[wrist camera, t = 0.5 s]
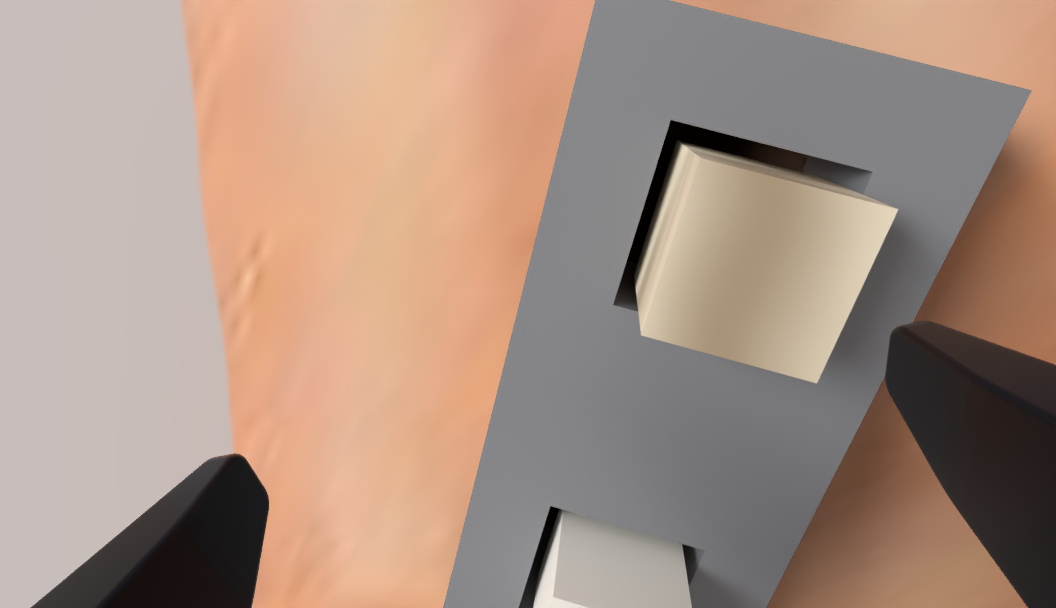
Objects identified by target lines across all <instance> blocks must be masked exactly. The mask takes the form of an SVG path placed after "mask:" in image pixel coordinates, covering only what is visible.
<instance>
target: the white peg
mask: <svg viewBox="0 0 1056 608" xmlns="http://www.w3.org/2000/svg"><path fill="white" fill-rule="evenodd" d="M533 608H692V605H691V598H690V592H689V585H688V579H687V572H686V566H685V559H684V553H683V546H682V544H681V543H677V542H674V541H670V540H667V539H663V538H660V537H656V536H653V535H649V534H646V533H642V532H639V531H635V530H632V529H629V528H625V527H622V526H618V525H615V524H611V523H608V522H604V521H601V520H597V519H594V518H590V517H587V516H583V515H580V514H576V513H573V512H570V511H566V510H563V509H559V511H558V514H557V517H556V520H555V523H554V526H553V530H552V533H551V536H550V539H549V542H548V545H547V548H546V551H545V555H544V558H543V561H542V564H541V567H540V570H539V573H538V579H537V586H536V592H535V599H534V605H533Z"/></svg>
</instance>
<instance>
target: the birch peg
mask: <svg viewBox="0 0 1056 608" xmlns="http://www.w3.org/2000/svg"><path fill="white" fill-rule="evenodd" d="M897 212H898V209H896V208H894V207H892V206H889V205H887V204H884V203H882V202H879V201H877V200H875V199H872V198H870V197H867V196H865V195H863V194H860V193H858V192H855V191H853V190H850V189H848V188H846V187H843V186H841V185H838V184H836V183H833V182H831V181H829V180H826V179H824V178H821V177H818V176H814V175H811V174H807V173H803V172H799V171H795V170H791V169H787V168H783V167H780V166H776V165H772V164H768V163H764V162H760V161H756V160H752V159H749V158H745V157H741V156H737V155H733V154H729V153H725V152H722V151H718V150H714V149H710V148H706V147H702V146H698V145H694V144H691V143H687V142H683V141H679V140H677V141H676V144H675V147H674V150H673V154H672V157H671V160H670V163H669V166H668V169H667V172H666V175H665V179H664V182H663V185H662V188H661V191H660V194H659V197H658V201H657V204H656V207H655V210H654V213H653V216H652V219H651V222H650V226H649V229H648V232H647V235H646V238H645V241H644V244H643V248H642V251H641V254H640V257H639V260H638V263H637V266H636V269H635V273H634V279H635V287H636V296H637V305H638V313H639V322H640V331H641V335H642V336H645V337H649V338H653V339H656V340H660V341H664V342H667V343H671V344H675V345H678V346H682V347H686V348H689V349H693V350H697V351H700V352H704V353H707V354H711V355H715V356H718V357H722V358H726V359H729V360H733V361H737V362H740V363H744V364H748V365H751V366H755V367H759V368H762V369H766V370H770V371H773V372H777V373H781V374H784V375H788V376H792V377H795V378H799V379H803V380H806V381H810V382H813V383H817V382H818V380H819V378H820V376H821V374H822V371H823V369H824V367H825V365H826V363H827V361H828V359H829V357H830V354H831V352H832V350H833V348H834V346H835V344H836V342H837V340H838V337H839V335H840V333H841V331H842V329H843V327H844V325H845V322H846V320H847V318H848V316H849V314H850V312H851V310H852V308H853V305H854V303H855V301H856V299H857V297H858V295H859V293H860V290H861V288H862V286H863V284H864V282H865V280H866V278H867V276H868V273H869V271H870V269H871V267H872V265H873V263H874V261H875V258H876V256H877V254H878V252H879V250H880V248H881V246H882V244H883V241H884V239H885V237H886V235H887V233H888V231H889V229H890V227H891V224H892V222H893V220H894V218H895V216H896V214H897Z"/></svg>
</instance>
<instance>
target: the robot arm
mask: <svg viewBox="0 0 1056 608" xmlns="http://www.w3.org/2000/svg"><path fill="white" fill-rule="evenodd" d="M885 380H886V385H887V389H888V391H889V393H890V395H891V397H892V399H893V401H894V403H895V404H896V406H897V408H898V410H899V411H900V413H901V415H902V417H903V418H904V420H905V422H906V424H907V426H908V427H909V429H910V431H911V433H912V434H913V436H914V438H915V440H916V441H917V443H918V445H919V447H920V448H921V450H922V452H923V454H924V456H925V457H926V459H927V461H928V463H929V464H930V466H931V468H932V470H933V471H934V473H935V475H936V477H937V478H938V480H939V482H940V483H941V485H942V487H943V488H944V490H945V492H946V493H947V495H948V496H949V498H950V499H951V501H952V502H953V504H954V505H955V507H956V508H957V509H958V511H959V512H960V514H961V515H962V516H963V518H964V519H965V521H966V522H967V523H968V525H969V526H970V528H971V529H972V530H973V532H974V533H975V535H976V536H977V537H978V539H979V540H980V541H981V543H982V544H983V546H984V547H985V548H986V550H987V551H988V553H989V554H990V555H991V557H992V558H993V560H994V561H995V562H996V564H997V565H998V567H999V568H1000V569H1001V571H1002V572H1003V573H1004V575H1005V576H1006V578H1007V579H1008V580H1009V582H1010V583H1011V585H1012V586H1013V587H1014V589H1015V590H1016V592H1017V593H1018V594H1019V596H1020V597H1021V598H1022V600H1023V601H1024V603H1025V604H1026V605H1027V607H1028V608H1056V365H1055V364H1052V363H1049V362H1046V361H1043V360H1040V359H1037V358H1034V357H1032V356H1029V355H1026V354H1023V353H1020V352H1017V351H1014V350H1011V349H1009V348H1006V347H1003V346H1000V345H997V344H994V343H991V342H988V341H986V340H983V339H980V338H977V337H974V336H971V335H968V334H965V333H963V332H960V331H957V330H954V329H951V328H948V327H945V326H942V325H940V324H937V323H934V322H930V321H920V322H915V323H910V324H905V325H900V326H897V327H895V328H894V329H893V330H892V332H891V334H890V338H889V346H888V355H887V363H886V372H885ZM268 511H269V498H268V494H267V491H266V489H265V488H264V486H263V485H262V483H261V482H260V480H259V478H258V477H257V475H256V474H255V472H254V471H253V469H252V468H251V466H250V464H249V463H248V461H247V460H246V459H245V457H243V456H242V455H240V454H229V455H224V456H218V457H214V458H211V459H209V460H207V461H206V462H205V463H203V464H202V465H201V466H200V467H199V468H197V469H196V470H195V471H194V472H193V473H191V474H190V475H189V476H188V477H187V478H185V479H184V480H183V481H182V482H181V483H179V484H178V485H177V486H176V487H175V488H173V489H172V490H171V491H170V492H169V493H167V494H166V495H165V496H164V497H163V498H162V499H160V500H159V501H158V502H157V503H156V504H155V505H153V506H152V507H151V508H150V509H148V510H147V511H146V512H145V513H143V514H142V515H141V516H140V517H139V518H138V519H136V520H135V521H134V522H133V523H132V524H130V525H129V526H128V527H127V528H126V529H124V530H123V531H122V532H121V533H120V534H118V535H117V536H116V537H115V538H114V539H112V540H111V541H110V542H109V543H108V544H106V545H105V546H104V547H103V548H102V549H100V550H99V551H98V552H97V553H96V554H94V555H93V556H92V557H91V558H90V559H89V560H87V561H86V562H85V563H84V564H82V565H81V566H80V567H79V568H78V569H76V570H75V571H74V572H73V573H72V574H70V576H68V577H67V578H66V579H65V580H63V581H62V582H61V583H60V584H59V585H57V586H56V587H55V588H54V589H53V590H51V591H50V592H49V593H48V594H47V595H46V596H44V597H43V598H42V599H41V600H39V601H38V602H37V603H36V604H35V605H34V606H32V607H31V608H252V603H253V598H254V593H255V587H256V581H257V575H258V570H259V564H260V558H261V552H262V546H263V540H264V534H265V528H266V523H267V517H268Z"/></svg>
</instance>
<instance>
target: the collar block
mask: <svg viewBox="0 0 1056 608" xmlns="http://www.w3.org/2000/svg"><path fill="white" fill-rule="evenodd" d="M1031 91H1032V90H1028V89H1024V88H1020V87H1016V86H1012V85H1008V84H1004V83H1000V82H996V81H992V80H988V79H984V78H980V77H975V76H971V75H967V74H963V73H959V72H955V71H951V70H947V69H943V68H939V67H935V66H931V65H927V64H923V63H919V62H915V61H911V60H907V59H903V58H899V57H895V56H891V55H887V54H883V53H879V52H875V51H871V50H867V49H863V48H859V47H855V46H851V45H847V44H843V43H839V42H835V41H831V40H827V39H823V38H818V37H814V36H810V35H806V34H802V33H798V32H794V31H790V30H786V29H782V28H778V27H774V26H770V25H766V24H762V23H758V22H754V21H750V20H746V19H742V18H738V17H734V16H730V15H726V14H722V13H718V12H714V11H710V10H706V9H702V8H698V7H694V6H690V5H686V4H682V3H678V2H674V1H670V0H595V4H594V8H593V12H592V16H591V20H590V24H589V28H588V32H587V36H586V40H585V44H584V48H583V52H582V56H581V60H580V64H579V68H578V72H577V76H576V80H575V84H574V88H573V92H572V96H571V100H570V104H569V108H568V112H567V116H566V120H565V124H564V128H563V132H562V136H561V140H560V144H559V148H558V152H557V156H556V160H555V164H554V168H553V172H552V176H551V180H550V184H549V188H548V192H547V196H546V200H545V204H544V208H543V212H542V216H541V220H540V224H539V228H538V232H537V236H536V240H535V244H534V248H533V252H532V256H531V260H530V264H529V268H528V272H527V276H526V280H525V284H524V288H523V292H522V296H521V300H520V304H519V308H518V312H517V316H516V320H515V324H514V328H513V332H512V336H511V339H510V343H509V347H508V351H507V355H506V359H505V363H504V367H503V371H502V375H501V379H500V383H499V387H498V391H497V395H496V399H495V403H494V407H493V411H492V415H491V419H490V423H489V427H488V431H487V435H486V439H485V443H484V447H483V451H482V455H481V459H480V463H479V467H478V471H477V475H476V479H475V483H474V487H473V491H472V495H471V499H470V503H469V507H468V511H467V515H466V519H465V523H464V527H463V531H462V535H461V539H460V543H459V547H458V551H457V555H456V559H455V563H454V567H453V571H452V575H451V579H450V583H449V587H448V591H447V595H446V599H445V603H444V607H443V608H533V605H534V599H535V592H536V586H537V579H538V573H539V570H540V567H541V564H542V561H543V558H544V555H545V551H546V548H547V545H548V542H549V539H550V536H551V533H552V530H553V528H550V527H546V526H544V525H545V522H546V518H547V515H548V512H549V509H550V506H552V507H556V508H559V509H563V510H566V511H570V512H573V513H576V514H580V515H583V516H587V517H590V518H594V519H597V520H601V521H604V522H608V523H611V524H615V525H618V526H622V527H625V528H629V529H632V530H635V531H639V532H642V533H646V534H649V535H653V536H656V537H660V538H663V539H667V540H670V541H674V542H677V543H681V544H682V546H683V553H684V559H685V566H686V572H687V579H688V585H689V592H690V598H691V605H692V608H766V607H767V605H768V603H769V601H770V599H771V597H772V595H773V594H774V592H775V590H776V588H777V586H778V584H779V582H780V580H781V578H782V576H783V574H784V572H785V570H786V568H787V566H788V564H789V562H790V560H791V558H792V557H793V555H794V553H795V551H796V549H797V547H798V545H799V543H800V541H801V539H802V537H803V535H804V533H805V531H806V529H807V527H808V525H809V523H810V521H811V520H812V518H813V516H814V514H815V512H816V510H817V508H818V506H819V504H820V502H821V500H822V498H823V496H824V494H825V492H826V490H827V488H828V486H829V484H830V483H831V481H832V479H833V477H834V475H835V473H836V471H837V469H838V467H839V465H840V463H841V461H842V459H843V457H844V455H845V453H846V451H847V449H848V447H849V445H850V444H851V442H852V440H853V438H854V436H855V434H856V432H857V430H858V428H859V426H860V424H861V422H862V420H863V418H864V416H865V414H866V412H867V410H868V408H869V407H870V405H871V403H872V401H873V399H874V397H875V395H876V393H877V391H878V389H879V387H880V385H881V383H882V381H883V379H884V377H885V372H886V363H887V355H888V346H889V338H890V334H891V332H892V330H893V329H894V328H895V327H897V326H900V325H905V324H910V323H913V321H914V319H915V317H916V315H917V313H918V311H919V309H920V307H921V305H922V303H923V301H924V299H925V297H926V296H927V294H928V292H929V290H930V288H931V286H932V284H933V282H934V280H935V278H936V276H937V274H938V272H939V270H940V268H941V266H942V264H943V262H944V260H945V258H946V257H947V255H948V253H949V251H950V249H951V247H952V245H953V243H954V241H955V239H956V237H957V235H958V233H959V231H960V229H961V227H962V225H963V223H964V221H965V220H966V218H967V216H968V214H969V212H970V210H971V208H972V206H973V204H974V202H975V200H976V198H977V196H978V194H979V192H980V190H981V188H982V186H983V184H984V183H985V181H986V179H987V177H988V175H989V173H990V171H991V169H992V167H993V165H994V163H995V161H996V159H997V157H998V155H999V153H1000V151H1001V149H1002V147H1003V146H1004V144H1005V142H1006V140H1007V138H1008V136H1009V134H1010V132H1011V130H1012V128H1013V126H1014V124H1015V122H1016V120H1017V118H1018V116H1019V114H1020V112H1021V110H1022V109H1023V107H1024V105H1025V103H1026V101H1027V99H1028V97H1029V95H1030V93H1031ZM671 120H673V121H677V122H681V123H685V124H689V125H693V126H697V127H701V128H704V129H708V130H712V131H716V132H720V133H724V134H728V135H732V136H736V137H739V138H743V139H747V140H751V141H755V142H759V143H763V144H767V145H771V146H774V147H778V148H782V149H786V150H790V151H794V152H798V153H802V154H806V155H808V157H807V159H806V162H805V164H804V167H803V169H802V172H803V173H807V174H811V175H814V176H818V177H821V178H824V179H826V180H829V181H831V182H833V183H836V184H838V185H841V186H843V187H846V188H848V189H850V190H853V191H855V192H858V193H860V194H863V195H865V196H867V197H870V198H872V199H875V200H877V201H879V202H882V203H884V204H887V205H889V206H892V207H894V208H896V209H898V212H897V214H896V216H895V218H894V220H893V222H892V224H891V227H890V229H889V231H888V233H887V235H886V237H885V239H884V241H883V244H882V246H881V248H880V250H879V252H878V254H877V256H876V258H875V261H874V263H873V265H872V267H871V269H870V271H869V273H868V276H867V278H866V280H865V282H864V284H863V286H862V288H861V290H860V293H859V295H858V297H857V299H856V301H855V303H854V305H853V308H852V310H851V312H850V314H849V316H848V318H847V320H846V322H845V325H844V327H843V329H842V331H841V333H840V335H839V337H838V340H837V342H836V344H835V346H834V348H833V350H832V352H831V354H830V357H829V359H828V361H827V363H826V365H825V367H824V369H823V371H822V374H821V376H820V378H819V380H818V382H817V383H813V382H810V381H806V380H803V379H799V378H795V377H792V376H788V375H784V374H781V373H777V372H773V371H770V370H766V369H762V368H759V367H755V366H751V365H748V364H744V363H740V362H737V361H733V360H729V359H726V358H722V357H718V356H715V355H711V354H707V353H704V352H700V351H697V350H693V349H689V348H686V347H682V346H678V345H675V344H671V343H667V342H664V341H660V340H656V339H653V338H649V337H645V336H642V335H641V331H640V322H639V313H638V305H637V296H636V287H635V279H634V273H635V269H636V266H637V264H635V263H631V262H627V259H628V255H629V252H630V249H631V246H632V243H633V239H634V236H635V233H636V230H637V227H638V223H639V220H640V217H641V214H642V211H643V207H644V204H645V201H646V198H647V195H648V191H649V188H650V185H651V182H652V178H653V175H654V172H655V169H656V166H657V162H658V159H659V156H660V153H661V150H662V146H663V143H664V140H665V137H666V134H667V130H668V127H669V124H670V121H671Z"/></svg>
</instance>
